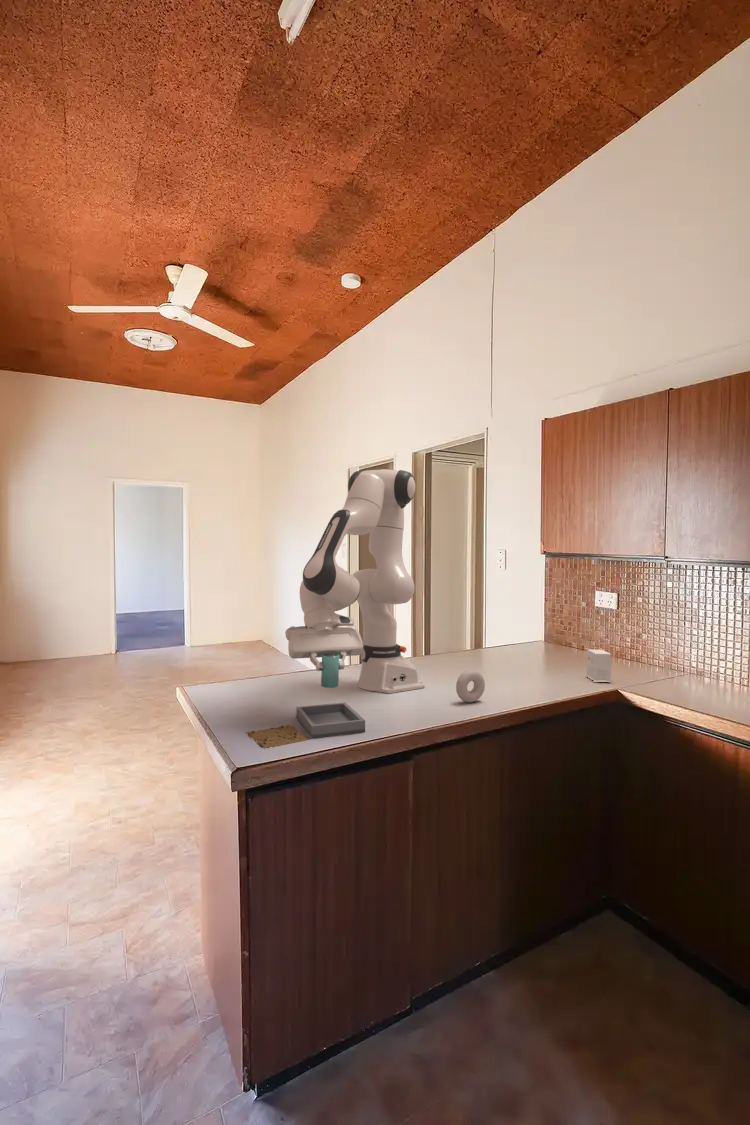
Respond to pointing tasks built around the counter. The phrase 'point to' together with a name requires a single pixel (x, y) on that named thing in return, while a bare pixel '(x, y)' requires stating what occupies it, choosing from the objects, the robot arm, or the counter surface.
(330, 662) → the cup
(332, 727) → the tray
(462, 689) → the donut
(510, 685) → the counter surface
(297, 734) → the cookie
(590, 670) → the small box
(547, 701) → the counter surface
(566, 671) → the counter surface
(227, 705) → the counter surface
